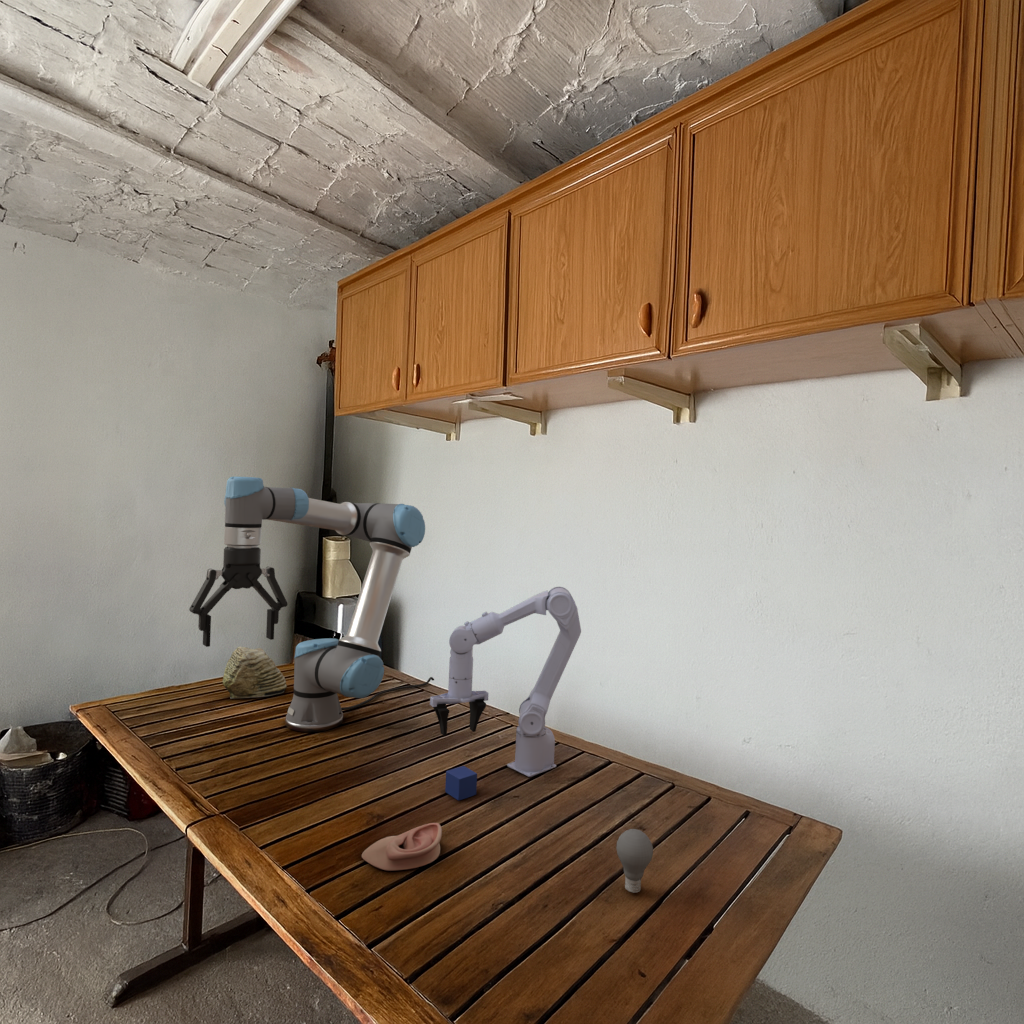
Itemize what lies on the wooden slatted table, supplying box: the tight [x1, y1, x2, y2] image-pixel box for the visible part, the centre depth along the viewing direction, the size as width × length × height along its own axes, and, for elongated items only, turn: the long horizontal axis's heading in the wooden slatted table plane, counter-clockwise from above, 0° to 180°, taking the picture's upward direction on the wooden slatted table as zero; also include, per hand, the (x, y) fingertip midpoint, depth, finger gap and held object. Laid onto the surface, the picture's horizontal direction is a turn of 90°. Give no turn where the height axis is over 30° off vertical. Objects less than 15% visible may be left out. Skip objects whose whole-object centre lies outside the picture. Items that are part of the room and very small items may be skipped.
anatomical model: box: [361, 822, 443, 872], centre depth 114 cm, size 13×4×12 cm
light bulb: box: [615, 828, 654, 894], centre depth 106 cm, size 6×6×10 cm
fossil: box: [222, 646, 288, 699], centre depth 198 cm, size 9×18×15 cm, turn 132°
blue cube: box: [444, 765, 478, 801], centre depth 138 cm, size 5×5×5 cm
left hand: (239, 642), depth 141 cm, fingers open, 13 cm apart
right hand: (458, 732), depth 153 cm, fingers open, 7 cm apart
